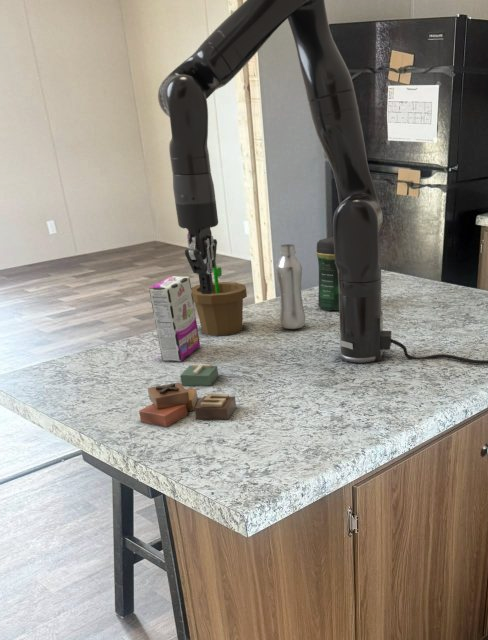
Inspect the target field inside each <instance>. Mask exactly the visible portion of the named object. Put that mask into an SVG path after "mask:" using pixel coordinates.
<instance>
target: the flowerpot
mask: <svg viewBox="0 0 488 640" xmlns="http://www.w3.org/2000/svg"><path fill="white" fill-rule="evenodd" d="M186 236H187V242H188V233H187V235H186ZM212 274H213V289H214V291H213V292H212V293H211V294H202V293H201V289H200V284H198V285H194V286H191V290H192V297H193V303H194V306H195V308H196V309H195V310H196V311H197V315H198V316H197V317H198V320H199V324H200V327H201V331H202V333H203V334H205V335H208V336H217V337H218V336H229V335H233V334H238V333H239V332H241V331H243V321H244V319H243V315H244V313H243V310H244V309H243V307H244V304H243V303H244V299H246V298H247V297H248V295H247V287H246V285H245V284H243V283H240V282H239V283H238V282H230V281H219V278H220V277H221V276H222V274H223V273H222V267H217V262H216V261H215V268H213V273H212Z"/></svg>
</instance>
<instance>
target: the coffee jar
mask: <svg viewBox="0 0 488 640" xmlns="http://www.w3.org/2000/svg"><path fill="white" fill-rule="evenodd" d="M316 258H317V263H318V298H317V299H318V308H320V309H322V310H324V311H329V312H331V311H339V291H338V271H337V267H336V264H335V253H334V237H333V236H330V237H326V238H321V239H319V240H318V241H317V243H316Z"/></svg>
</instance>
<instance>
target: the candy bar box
mask: <svg viewBox="0 0 488 640" xmlns="http://www.w3.org/2000/svg"><path fill="white" fill-rule="evenodd" d="M190 278H191V277H190V276H187V275H186V276H184V275H183V276H181V275H177V276H176V275H172V276H169V277H167V278H165V279H163V280H161V281H160V282H157V283H156V284H154V285H152V286H150V287H148V291H149V297H150V301H151V308H152V313H153V318H154V322H155V323H154V324H155V329H156V333H157V340H158V345H159V349H160V355H161V361H162V362H178V363H179V362H180V363H181V362H183V361H184V360H186V359H187V358H188V357H189V356H191V355H192V354H193V353H194V352H196V351H197V350H199V349H200V347H201V342H200V341H201V340H200V336H199V328H198V323H197V317H196V309H195V302H193V297H192V290H191V288H192V285H191V279H190Z"/></svg>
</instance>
